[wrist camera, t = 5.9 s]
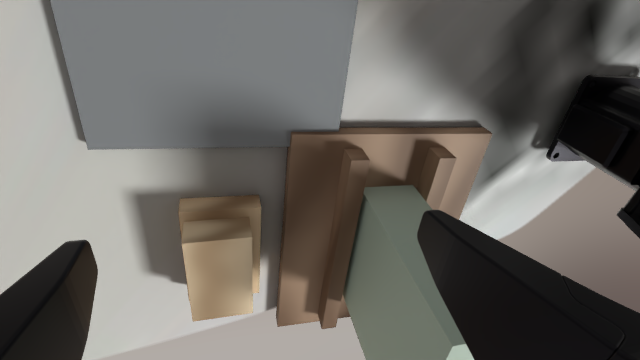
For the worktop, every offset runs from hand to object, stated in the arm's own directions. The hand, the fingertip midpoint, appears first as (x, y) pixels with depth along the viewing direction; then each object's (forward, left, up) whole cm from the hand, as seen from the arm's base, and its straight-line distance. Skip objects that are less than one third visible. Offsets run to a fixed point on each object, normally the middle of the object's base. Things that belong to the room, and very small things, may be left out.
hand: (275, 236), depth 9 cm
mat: (+1, -2, -13) cm, 13 cm away
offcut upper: (+2, +12, -12) cm, 17 cm away
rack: (-10, +12, -13) cm, 21 cm away
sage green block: (-10, +12, -12) cm, 20 cm away
